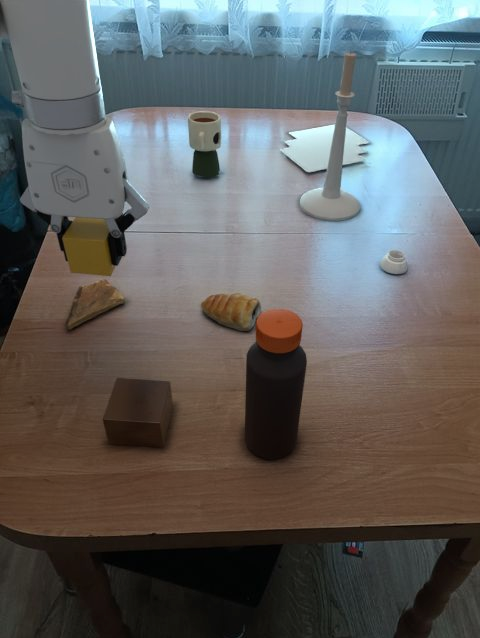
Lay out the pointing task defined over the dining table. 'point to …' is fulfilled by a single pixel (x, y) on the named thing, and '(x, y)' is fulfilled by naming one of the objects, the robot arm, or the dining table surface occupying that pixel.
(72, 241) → the mustard block
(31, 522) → the dining table surface
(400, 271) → the white jar
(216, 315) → the pastry
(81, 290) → the toasted sandwich
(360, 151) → the paper stack
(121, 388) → the walnut block
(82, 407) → the dining table surface
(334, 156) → the candlestick
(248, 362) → the bottle
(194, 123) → the character mug
